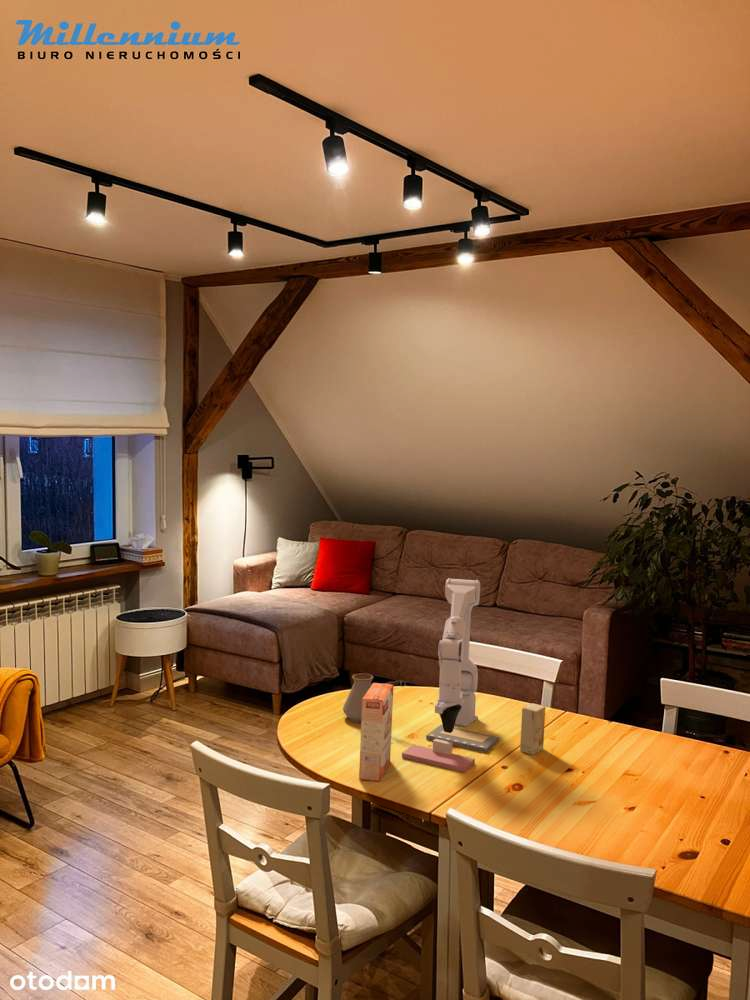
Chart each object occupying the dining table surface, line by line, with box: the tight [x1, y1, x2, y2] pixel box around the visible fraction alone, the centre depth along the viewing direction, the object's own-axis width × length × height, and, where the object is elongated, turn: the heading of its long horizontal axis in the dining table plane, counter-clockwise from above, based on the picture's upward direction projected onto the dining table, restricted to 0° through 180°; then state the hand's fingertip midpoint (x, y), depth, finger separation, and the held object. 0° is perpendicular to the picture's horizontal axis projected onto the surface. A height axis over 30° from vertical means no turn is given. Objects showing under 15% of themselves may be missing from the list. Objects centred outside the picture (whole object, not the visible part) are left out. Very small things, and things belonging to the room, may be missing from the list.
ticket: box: [425, 724, 500, 754], centre depth 232 cm, size 10×18×1 cm, turn 61°
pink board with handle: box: [401, 739, 476, 773], centre depth 217 cm, size 7×18×4 cm, turn 61°
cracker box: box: [358, 682, 395, 782], centre depth 209 cm, size 14×6×21 cm, turn 168°
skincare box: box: [519, 702, 546, 755], centre depth 226 cm, size 6×4×12 cm
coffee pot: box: [342, 673, 407, 723], centre depth 244 cm, size 21×12×15 cm, turn 51°
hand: (448, 731), depth 222 cm, fingers closed
